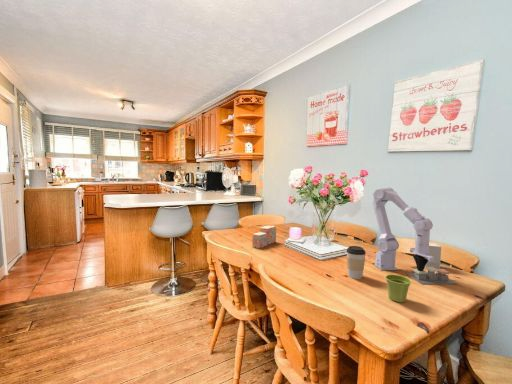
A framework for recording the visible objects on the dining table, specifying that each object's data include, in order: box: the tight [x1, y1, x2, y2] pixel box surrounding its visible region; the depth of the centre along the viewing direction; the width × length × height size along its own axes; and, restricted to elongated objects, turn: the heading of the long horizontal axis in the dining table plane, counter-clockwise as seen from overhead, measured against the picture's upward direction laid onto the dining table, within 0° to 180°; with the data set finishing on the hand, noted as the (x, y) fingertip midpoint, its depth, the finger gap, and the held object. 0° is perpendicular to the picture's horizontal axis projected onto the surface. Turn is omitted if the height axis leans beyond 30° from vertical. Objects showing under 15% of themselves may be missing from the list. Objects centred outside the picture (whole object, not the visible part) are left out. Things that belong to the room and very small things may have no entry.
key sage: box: [413, 268, 428, 275], centre depth 125 cm, size 4×4×4 cm
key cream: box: [424, 267, 438, 275], centre depth 125 cm, size 4×4×4 cm
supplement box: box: [425, 242, 442, 269], centre depth 142 cm, size 7×7×13 cm
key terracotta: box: [437, 268, 450, 275], centre depth 126 cm, size 4×4×4 cm
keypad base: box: [405, 272, 458, 285], centre depth 126 cm, size 17×12×2 cm
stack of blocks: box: [252, 224, 277, 249], centre depth 183 cm, size 21×6×12 cm, turn 144°
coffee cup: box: [346, 245, 367, 280], centre depth 127 cm, size 9×9×15 cm
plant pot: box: [385, 274, 412, 303], centre depth 105 cm, size 9×9×9 cm
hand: (420, 270), depth 125 cm, fingers closed, pressing on key sage
